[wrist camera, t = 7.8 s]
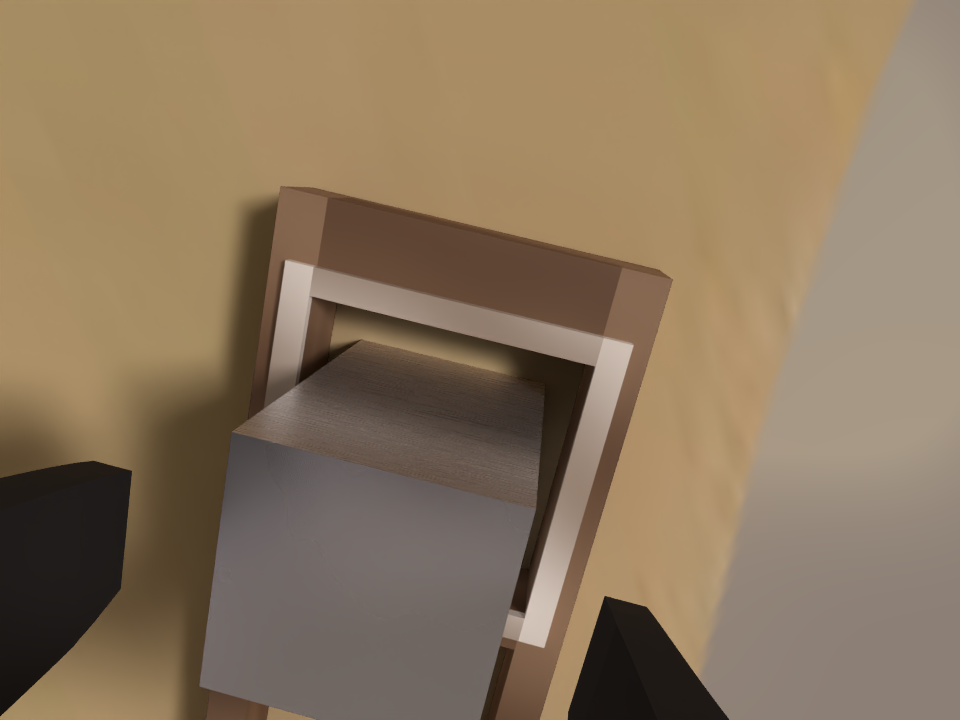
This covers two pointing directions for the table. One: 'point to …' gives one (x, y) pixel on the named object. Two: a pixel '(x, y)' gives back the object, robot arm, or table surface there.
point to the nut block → (374, 539)
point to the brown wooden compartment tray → (488, 315)
